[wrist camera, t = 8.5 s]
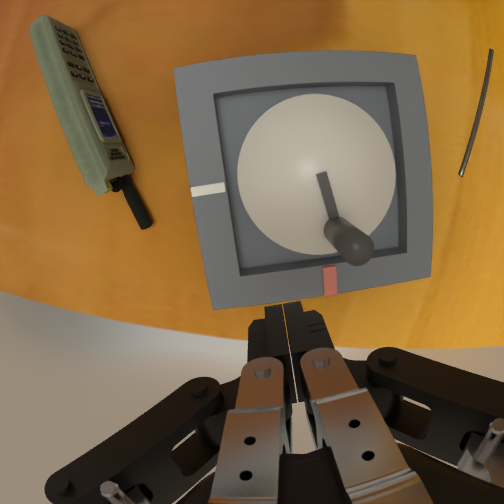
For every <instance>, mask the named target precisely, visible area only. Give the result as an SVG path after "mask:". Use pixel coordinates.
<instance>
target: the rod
mask: <svg viewBox="0 0 504 504" xmlns="http://www.w3.org/2000/svg"><path fill="white" fill-rule="evenodd" d="M493 54H494V50H492V49H489V56H488V62H487V67H486V73H485V78H484V83H483V87H482V92H481V97H480V101H479V105H478V109H477V113H476V117H475V121H474V125H473V128H472V132H471V135H470V139H469V142H468V145H467V149H466V152H465V155H464V158H463V161H462V164H461V167H460V170H459V173H458V174H459V175H460V176H461V177H463V174H464V171H465V169H466V166H467V162H468V159H469V156H470V153H471V150H472V146H473V143H474V140H475V136H476V133H477V129H478V125H479V122H480V118H481V114H482V110H483V105H484V101H485V97H486V92H487V87H488V82H489V77H490V72H491V66H492V60H493Z"/></svg>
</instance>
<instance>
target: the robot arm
mask: <svg viewBox="0 0 504 504" xmlns="http://www.w3.org/2000/svg"><path fill="white" fill-rule="evenodd" d="M283 306H284V313H285V319H286V326H287V332H288V339H289V345H290V351H291V357H292V364H293V368H294V369H293V370H294V375H295V382H296V388H297V394H298V401H299V402H303V401H304V402H305V407H306V416H307V420H308V424H309V427H310V431H311V435H312V438H313V441H314V445H315V449H316V450H315V451H313V452H310V453H307V454H292V417H291V415H292V403H297V400H296V393H295V386H294V379H293V373H292V365H291V358H290V352H289V345H288V339H287V333H286V327H285V321H284V315H283V309H282V304H279V305H273V306H267V307H265V319H258V320H254V321H253V322H252V323H251V325H250V326H249V328H248V360H247V361H248V362H247V364H246V365H245V366H244V367H243V369H242V371H241V376H240V377H238V378H237V379H235V380H233V381H230V382H227V383H224V384H221V385H220V384H219V382H218V381H217V380H215V379H213V378H210V377H198V378H195V379H192V380H190V381H188V382H186V383H185V384H183V385H182V386H181V387H179V388H178V389H177V390H175V391H174V392H173V393H171V394H170V395H169V396H167V397H166V398H164V399H163V400H162V401H160V402H159V403H158V404H156V405H155V406H153V407H152V408H151V409H149V410H148V411H147V412H145V413H144V414H142V415H141V416H140V417H138V418H137V419H136V420H134V421H133V422H131V423H130V424H128V425H127V426H125V427H124V428H122V429H121V430H119V431H118V432H117V433H115V434H114V435H112V436H111V437H109V438H108V439H106V440H105V441H103V442H102V443H100V444H99V445H97V446H96V447H94V448H93V449H91V450H90V451H88V452H87V453H85V454H84V455H82V456H81V457H79V458H77V459H76V460H75V461H73V462H71V463H69V464H68V465H66V466H65V467H63V468H61V469H60V470H58V471H57V472H55V473H54V474H52V475H51V476H50V477H49V478H48V480H47V482H46V484H45V494H46V497H47V499H48V500H49V501H50V502H52V504H172V503H173V502H174V501H176V500H177V499H178V498H179V497H180V496H182V495H183V494H184V493H185V492H186V491H188V490H189V489H190V488H191V487H192V486H193V485H195V484H196V483H197V482H198V481H199V480H200V479H201V478H202V477H204V476H205V475H206V474H207V473H208V472H209V471H210V470H211V469H212V468H214V467H215V466H216V465H217V466H216V471H215V472H213V473H212V474H210V475H208V476H207V477H205V478H204V479H203V480H201V481H200V482H199V483H198V484H197V485H196V486H195V487H194V488H193V489H192V490H190V491H189V492H188V493H187V494H186V495H185V496H184V497H183V498H182V499H180V500H179V501H178V502H177V503H176V504H504V382H500V381H497V380H493V379H490V378H487V377H484V376H481V375H477V374H474V373H471V372H468V371H465V370H461V369H458V368H455V367H452V366H449V365H446V364H443V363H440V362H437V361H434V360H431V359H428V358H425V357H422V356H419V355H416V354H413V353H410V352H407V351H404V350H401V349H398V348H394V347H384V348H379V349H377V350H375V351H373V352H372V353H370V355H369V356H368V358H367V361H354V360H348V359H345V358H343V357H342V355H341V354H340V353H339V352H338V351H337V350H335V348H334V346H333V343H332V340H331V338H330V335H329V332H328V330H327V327H326V325H325V322H324V319H323V317H322V315H321V314H320V313H318V312H317V311H315V310H312V311H306V312H303V308H302V305H301V302H300V301H296V302H290V303H285V304H283ZM404 396H405V397H407V398H409V399H412V400H414V401H417V402H419V403H422V404H425V405H426V406H428V407H429V408H430V409H431V411H430V410H428V409H425V408H423V407H420V406H418V405H416V404H413V403H410V402H408V401H406V400H403V397H404ZM193 430H195V433H194V434H193V435H191V436H190V437H189V438H188V439H187V440H185V441H184V442H183V443H182V444H180V445H179V446H178V447H177V448H176V449H174V450H173V451H172V449H173V448H174V446H175V445H176V444H177V443H178V442H180V441H181V440H182V439H184V438H185V437H186V436H187V435H188V434H190V433H191V432H192V431H193ZM394 439H396V440H398V441H400V442H403V443H405V444H407V445H409V446H407V445H404V444H400V443H396V442H395V440H394ZM410 446H411V447H410ZM412 447H413V448H412ZM414 448H416V449H418V450H420V451H422V452H425V453H427V454H429V455H431V456H434V457H436V458H439V459H441V460H443V461H446V462H448V463H451V464H453V465H456V466H458V469H456V468H454V467H452V466H450V465H447V464H445V463H443V462H441V461H439V460H437V459H435V458H432V457H430V456H428V455H426V454H424V453H422V452H420V451H418V450H416V449H414Z"/></svg>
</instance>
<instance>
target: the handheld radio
mask: <svg viewBox="0 0 504 504" xmlns="http://www.w3.org/2000/svg"><path fill="white" fill-rule="evenodd" d="M30 34H31V39H32V43H33V46H34V50H35V53H36V56H37V60H38V63H39V65H40V68H41V71H42V74H43V77H44V80H45V83H46V86H47V89H48V92H49V95H50V98H51V100H52V103H53V106H54V109H55V111H56V114H57V117H58V119H59V122H60V124H61V127H62V129H63V132H64V134H65V137H66V139H67V142H68V144H69V146H70V149H71V151H72V154H73V156H74V158H75V160H76V163H77V165H78V167H79V169H80V172H81V174H82V176H83V178H84V180H85V183H86V184H87V186H88V187H92V189H93V190H94V192H95V194H96V195H97V197H98V196H100V195H101V194H103V193H108V192H109V191H113V192H118V191H120V190H121V189H122V191H123V193H124V196H125V198H126V200H127V202H128V204H129V206H130V208H131V210H132V212H133V214H134V216H135V218H136V220H137V222H138V224H139V226H140V228H141V230H143V229H147V228H148V227H150V226H151V225H152V224H153V223H152V221H151V219H150V217H149V215H148V213H147V212H146V210H145V208H144V206H143V204H142V202H141V200H140V198H139V196H138V194H137V192H136V190H135V189H134V188H133V186H132V184H131V180H130V178H129V175H130V174H131V173H133V172H134V165H133V163H132V161H131V159H130V157H129V155H128V152H127V150H126V148H125V146H124V144H123V142H122V139H121V137H120V135H119V133H118V130H117V128H116V126H115V124H114V121H113V119H112V117H111V115H110V112H109V110H108V108H107V105H106V103H105V101H104V98H103V96H102V93H101V91H100V89H99V86H98V84H97V82H96V79H95V77H94V75H93V72H92V70H91V67H90V65H89V62H88V60H87V57H86V55H85V52H84V50H83V47H82V45H81V42H80V40H79V37H78V34H77V32H76V30H74V29H72V28H71V27H69V26H67V25H65V24H63V23H61V22H59V21H57V20H55V19H53V18H51V17H49V16H47V15H41V16H40V17H39V18H38V19H37V20H36V21H35V22H34V23H32V24H31V26H30Z"/></svg>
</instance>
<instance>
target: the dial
mask: <svg viewBox="0 0 504 504" xmlns="http://www.w3.org/2000/svg"><path fill="white" fill-rule="evenodd" d="M237 179H238V187H239V192H240V195H241V199H242V202H243V204H244V207H245V209H246V211H247V213H248V214H249V216H250V218H251V219H252V221H253V222H254V223H255V225H256V226H257V227H258V228H259V229H260V230H261V231H262V232H263V233H264V234H265V235H266V236H267V237H268V238H270V239H271V240H272V241H274V242H275V243H277V244H279V245H281V246H282V247H285V248H287V249H289V250H292V251H295V252H299V253H303V254H311V255H324V254H331V253H336V252H339V254H340V255H341V256H342V257H343V258H344V259H345V260H346V262H347V263H349V264H350V265H352V266H362V265H364V264H366V263H367V262H368V261H369V260H370V259H371V258H372V256H373V254H374V243H373V241H372V239H371V238H370V237H369V235H370V234H371V233H372V232H373V231H374V230H375V229H376V227H377V226H378V225H379V224H380V222H381V221H382V219H383V218H384V216H385V215H386V213H387V211H388V208H389V206H390V204H391V201H392V198H393V194H394V189H395V179H396V171H395V162H394V157H393V153H392V150H391V147H390V144H389V142H388V140H387V138H386V136H385V134H384V132H383V131H382V129H381V128H380V126H379V125H378V124H377V123H376V122H375V120H374V119H373V118H372V117H371V116H370V115H369V114H367V113H366V112H365V111H364V110H362V109H361V108H360V107H358V106H357V105H355V104H353V103H351V102H349V101H347V100H344V99H342V98H339V97H335V96H331V95H325V94H305V95H300V96H295V97H292V98H289V99H286V100H284V101H282V102H280V103H278V104H276V105H275V106H273V107H272V108H270V109H269V110H267V111H266V112H265V113H264V114H263V115H262V116H261V117H260V118H259V119H258V120H257V121H256V122H255V124H254V125H253V126H252V127H251V129H250V131H249V132H248V134H247V136H246V138H245V140H244V142H243V145H242V147H241V151H240V155H239V160H238V167H237Z"/></svg>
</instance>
